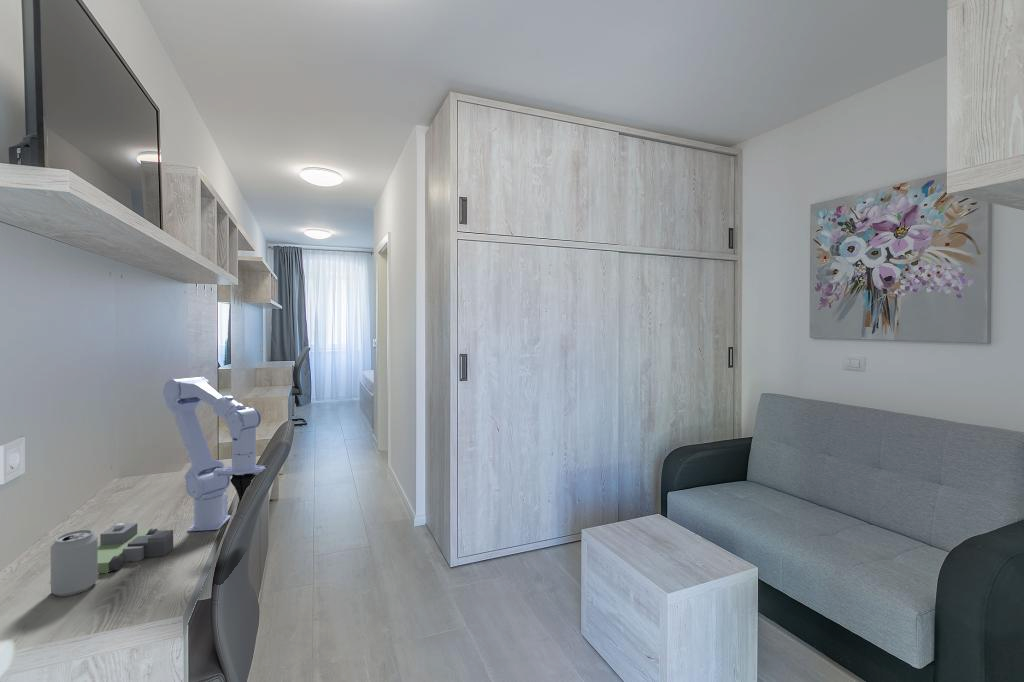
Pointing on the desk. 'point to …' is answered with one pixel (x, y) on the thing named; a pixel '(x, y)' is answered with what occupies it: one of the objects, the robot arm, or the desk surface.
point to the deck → (120, 546)
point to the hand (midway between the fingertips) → (243, 501)
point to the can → (74, 562)
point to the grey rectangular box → (155, 543)
